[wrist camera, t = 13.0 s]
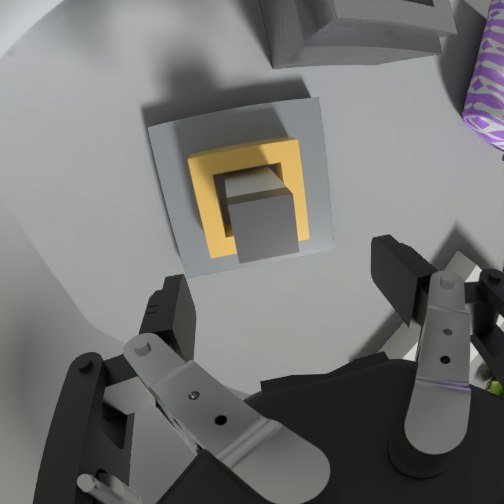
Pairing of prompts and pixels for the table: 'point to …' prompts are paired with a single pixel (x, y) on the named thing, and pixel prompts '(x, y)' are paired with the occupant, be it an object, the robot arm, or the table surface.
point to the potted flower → (496, 388)
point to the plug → (261, 214)
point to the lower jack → (235, 159)
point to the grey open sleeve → (354, 30)
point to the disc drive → (407, 339)
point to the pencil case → (488, 82)
